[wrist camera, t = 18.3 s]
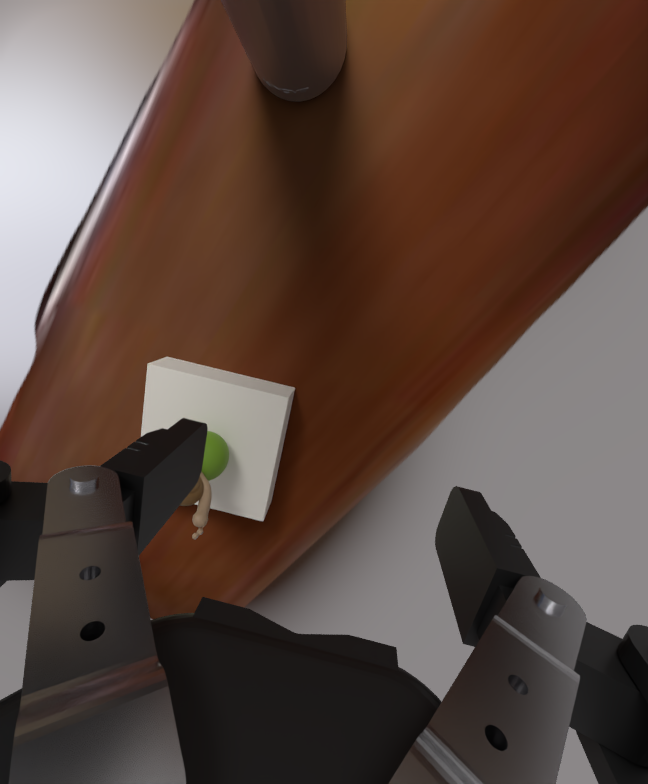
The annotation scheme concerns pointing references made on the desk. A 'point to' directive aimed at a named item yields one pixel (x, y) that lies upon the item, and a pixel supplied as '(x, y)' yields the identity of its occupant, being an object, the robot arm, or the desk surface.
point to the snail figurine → (207, 479)
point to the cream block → (225, 426)
